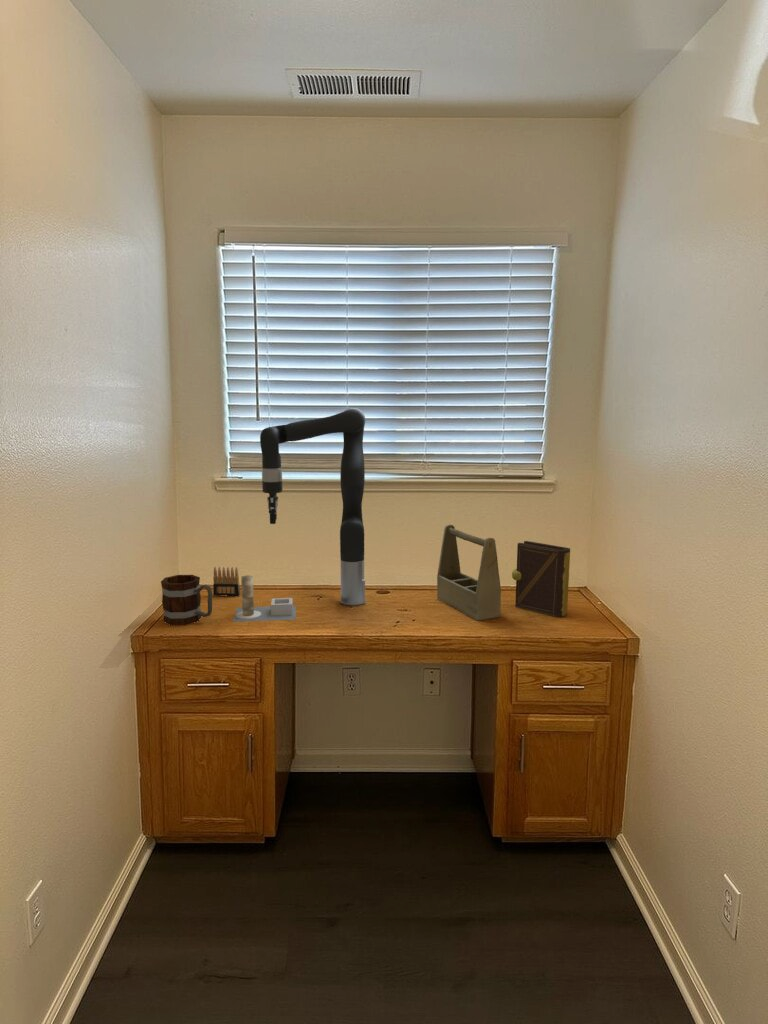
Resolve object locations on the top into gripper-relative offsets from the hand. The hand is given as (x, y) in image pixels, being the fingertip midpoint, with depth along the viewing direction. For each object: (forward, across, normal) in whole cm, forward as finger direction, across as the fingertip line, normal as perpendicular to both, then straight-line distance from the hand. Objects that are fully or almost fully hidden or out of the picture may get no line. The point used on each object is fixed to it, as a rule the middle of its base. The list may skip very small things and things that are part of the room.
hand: (273, 521), depth 253 cm
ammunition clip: (+32, +11, +20) cm, 40 cm away
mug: (+32, -18, +30) cm, 48 cm away
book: (+32, -22, -99) cm, 106 cm away
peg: (+30, -19, +9) cm, 37 cm away
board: (+32, -18, +3) cm, 37 cm away
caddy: (+32, -16, -73) cm, 81 cm away
